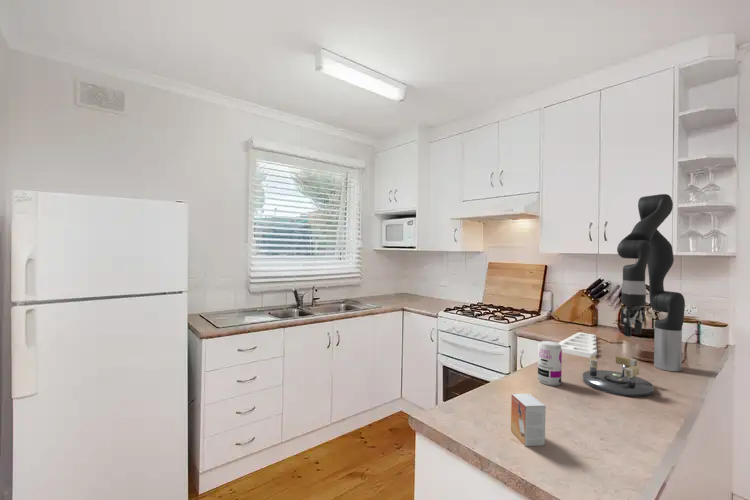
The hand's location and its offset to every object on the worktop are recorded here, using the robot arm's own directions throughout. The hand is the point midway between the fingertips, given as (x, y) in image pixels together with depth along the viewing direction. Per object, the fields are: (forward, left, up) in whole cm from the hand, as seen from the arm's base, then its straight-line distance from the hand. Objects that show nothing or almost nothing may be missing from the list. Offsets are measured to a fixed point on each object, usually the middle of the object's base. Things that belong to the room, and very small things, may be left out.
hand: (632, 334), depth 138 cm
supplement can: (+26, -17, -19) cm, 37 cm away
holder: (-40, -38, -19) cm, 59 cm away
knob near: (0, -2, -16) cm, 16 cm away
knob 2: (+11, +4, -16) cm, 20 cm away
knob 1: (+11, -9, -16) cm, 22 cm away
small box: (+70, +4, -19) cm, 73 cm away
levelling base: (+7, -2, -19) cm, 20 cm away
